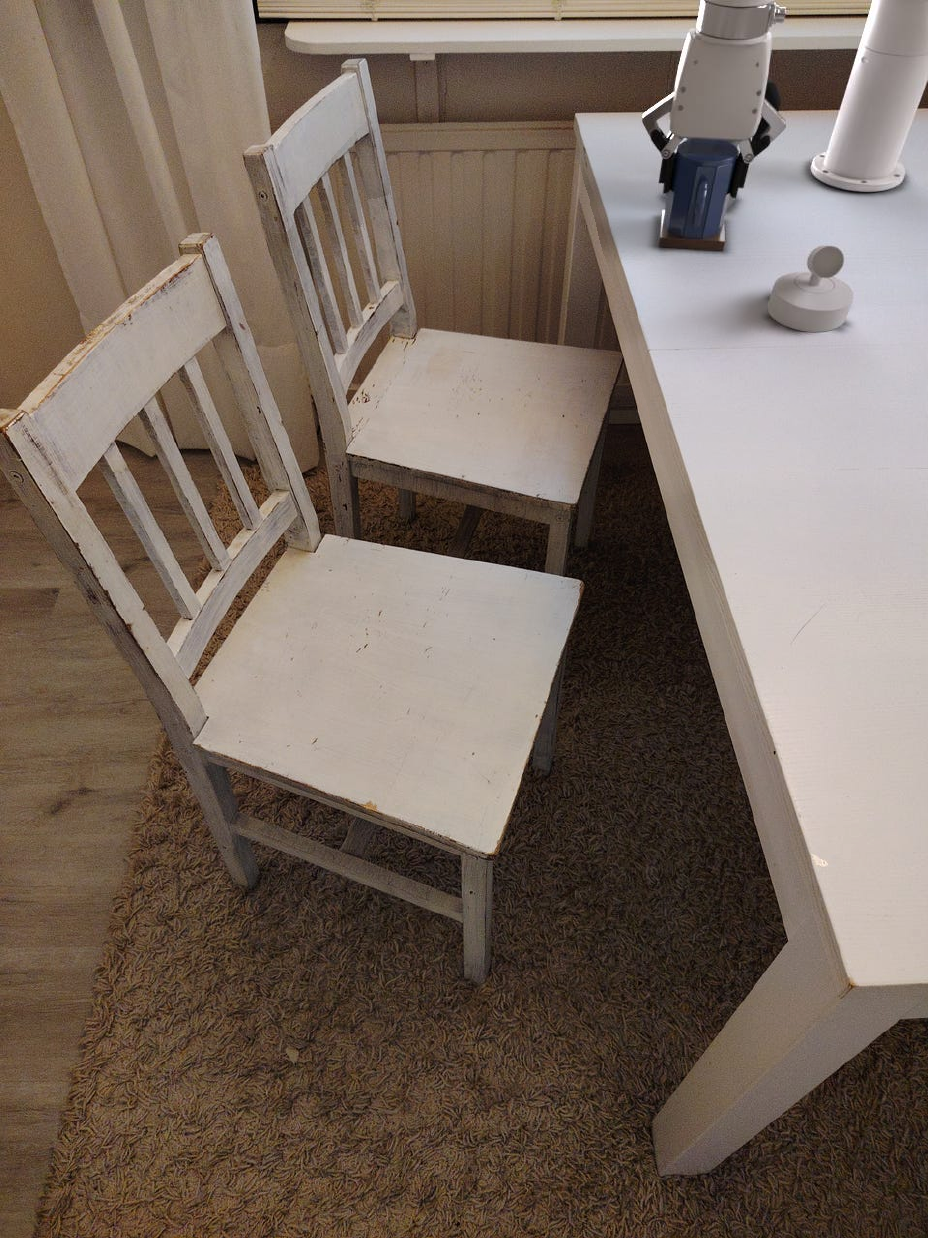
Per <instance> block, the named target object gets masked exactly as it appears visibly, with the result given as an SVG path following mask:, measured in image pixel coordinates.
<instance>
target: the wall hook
mask: <svg viewBox="0 0 928 1238" xmlns="http://www.w3.org/2000/svg"><path fill="white" fill-rule="evenodd" d="M844 264H845V255H844V253H843V251H842V250H841V249H840V248H839V247H837V246H834V245H825V244H824V245H819V246H816V247H815V248H814V249H812V250H811V252H810V253H809V254H808V257H807V260H806V266H807V269H808V271H795V272H789V273H786V274H784V275H781V276H780V277H778V278H777V279H775V282H774V284H773V286H772V290H771V294H770V297H769V300H768V303H767V312H768V314H769V316H770V317H771V318H772V319H773V320H774V321H776V322H777V323H779V324H780V325H782V326H785V327H787V328H790V329H793V330H796V331H802V332H808V333H823V332H829V331H833V330H835V329H838V328H839V327H841V326H842V325H843V324H844V323H845V321H846V319H847V317H848V314H849V311H850V309H851V307H852V303H853V301H854V297H855V295H854V291H853V289H852V288H851V287H850V286H849V285H848V283H846V282H845V281H843V280H842V279H840V278H837V277H835V276H836V275H838V274H839V272H841V270H842V269H843V266H844Z"/></svg>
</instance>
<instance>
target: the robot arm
mask: <svg viewBox="0 0 928 1238" xmlns="http://www.w3.org/2000/svg"><path fill="white" fill-rule="evenodd" d="M870 5H871V6H870V10H869V13H868V16H867V20H866V23H865V25H864V26H865V27H864V30H863V33H862V36H861V40H860V42H859V46H858V49H857V52H856V56H855V59H854V62H853V64H852V69H851V72H850V75H849V78H848V81H847V85H846V88H845V91H844V95H843V98H842V101H841V105H840V107H839V111H838V114H837V116H836V117H837V118H836V121H835V124H834V127H833V131H832V134H831V137H830V140H829V143H828V147H827V150H826V151H822V152H820V153H818V154H816V156H814V158H813V159H812V162H811V165H810V171H811V173H812V175H813V176H814V178H816V179H817V180H819V181H820V182H822V183H824V184H826V185H828V186H831V187H834V188H837V189H841V190H845V191H852V192H864V193H873V192H883V191H887V190H888V191H889V190H891V189H894V188H895V187H898V186H899V185H900V184H901V183H902V182H903V180H904V178H905V176H906V168H905V166H904V164H902V162H900V161H899V159H900V156H901V153H902V151H903V147H904V145H905V142H906V140H907V137H908V134H909V132H910V130H911V127H912V124H913V121H914V118H915V116H916V113H917V110H918V107H919V105H920V102H921V100H922V97H923V94H924V92H925V89H926V86H927V83H928V0H872V2H871V4H870ZM786 14H787V7H786V6H785V7H783V6H782V7H781V6H780V5H777V2H775V0H700V5H699V11H698V17H697V22H696V27H692V28H690V29H689V30H688V33H687V36H686V39H685V42H684V45H683V49H682V51H681V55H680V60H679V64H678V67H677V73H676V77H675V82H674V87H673V92H672V93H671V94H668V96H666V97H665V98H663V99H662V100H660V101H659V102H658V103H656V104H654V106H652V107H650V108H649V109H648V110H647V111H645V112H644V113H643V114H642V117H641V122H642V125H643V126H644V128H645V130H646V132H647V134H648V136H649V137H650V141H651V142H652V143H653V145H654V146H655V148H656V150H658V152H659V153H660V156H661V158H662V159H661V164H660V171H659V177H658V184H663V185H662V194H664V195H667V194H668V193H669V189H670V184H671V178H672V172H673V166H674V160H675V157H674V155H675V152H676V150H677V147H678V145H679V144H680V143H682V142H683V140H684V139H687V138H692V139H710V140H732V141H737V142H738V147H739V148H738V149H739V155H738V160H737V164H736V169H735V173H734V178H733V182H732V186H731V191H730V196H731V197H732V198H737V196H738V193H739V189H744V187H745V184H746V180H747V175H748V173H749V172H748V171H749V167H750V163H752V162H753V161H754V160H755V158H756V157H757V156H758V155H760V154H761V153H762V152H764V151H765V150H766V149H768V148H769V147H770V146H771V143H773V141H775V140H776V139H777V138H778V137H779V136H780V135H781V134H782V133H783V132H784V131H785V129H786V128H787V123H786V119H785V118H784V117H783V116H782V115H781V113H780V112H779V111H778V112H777V111H776V109H775V108H774V107H773V106H772V105H771V104H770V103H769V102H768V101H767V100H766V99H765V98H764V96H765V90H766V85H767V80H768V79H769V70H770V62H771V56H772V48H773V47H772V46H773V33H772V32H770V31H769V30H770V28H772V27H773V25H776V24H783V23H784V22H785V18H786ZM668 113H669V133H668V134H667V135H666V134H665V132H664V131H663V130H662V129H661V127H660V126H659V124H658V121H659V119H661V118H663V117H664V116H665V115H667V114H668ZM761 117H763V118H764V119H765V120H766V121H767V122H768V124H769V127H768V128H767V129H766V131H765V132H764V133H762V134H761V135H759V136H758V137H757V138H756V139H754V140H753V141H752V137H753V136H754V135H755V133H756V131H757V128H758V125H759V123H760V120H761ZM751 141H752V142H751Z"/></svg>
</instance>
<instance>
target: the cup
mask: <svg viewBox="0 0 928 1238" xmlns="http://www.w3.org/2000/svg"><path fill="white" fill-rule="evenodd" d="M737 148H738V147H737ZM737 148H736V147H735V146H734V145H733V144H731V143H729V142H726V141H723V140H710V139H690V140H687V139H686V140H684V141H683V140H682V141H681V143H680V144H679V145H678V147H677V148H676V150H675V151H674V152H675V155H674V157H675V160H674V166H673V172H672V178H671V184H670V189H669V193H667V194H668V196H666V197H667V198H666V202H665V203H666V204H665V209H664V210H665V214H664V220H663V225H664V226H665V228H666V229H667V231H669V232H670V233H672V234H675V235H677V236H680V237H683V238H696V239H701V238H702V239H703V238H707V237H711V236H715V235H716V234H718V233H719V231H720V230H721V229H722V227H723V222H724V223H725V217H726V213H727V210H728V208H727V205H728V200H729V196H730V191H731V186H732V182H733V178H734V173H735V169H736V164H737V160H738V150H739V148H738V149H737Z"/></svg>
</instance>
